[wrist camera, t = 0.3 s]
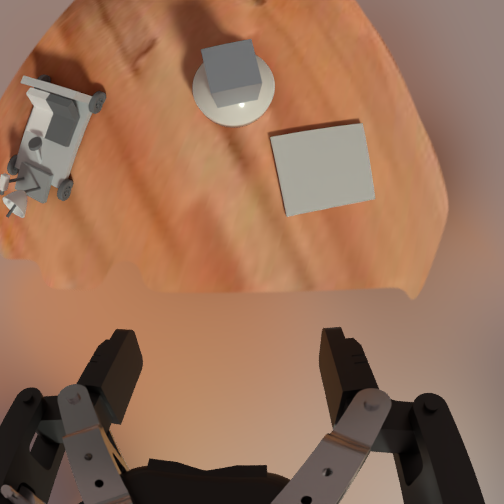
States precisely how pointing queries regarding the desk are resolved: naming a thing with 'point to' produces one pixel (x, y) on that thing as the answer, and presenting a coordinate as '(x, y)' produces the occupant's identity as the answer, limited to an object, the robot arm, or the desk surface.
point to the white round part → (238, 112)
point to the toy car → (48, 143)
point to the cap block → (232, 73)
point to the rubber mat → (323, 168)
